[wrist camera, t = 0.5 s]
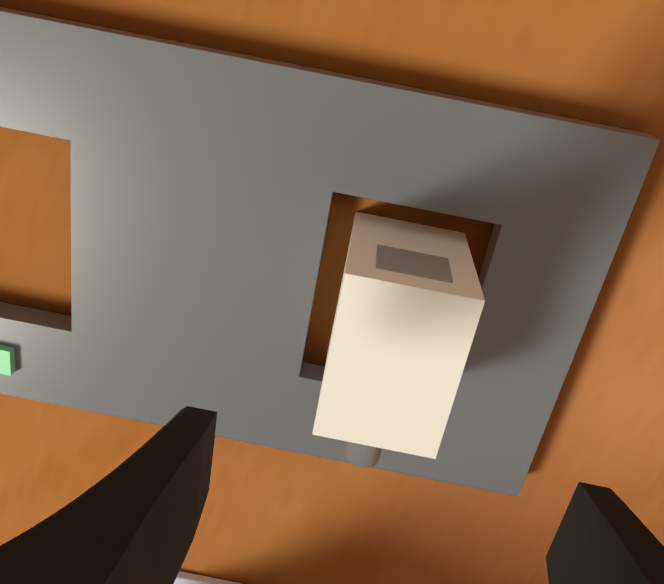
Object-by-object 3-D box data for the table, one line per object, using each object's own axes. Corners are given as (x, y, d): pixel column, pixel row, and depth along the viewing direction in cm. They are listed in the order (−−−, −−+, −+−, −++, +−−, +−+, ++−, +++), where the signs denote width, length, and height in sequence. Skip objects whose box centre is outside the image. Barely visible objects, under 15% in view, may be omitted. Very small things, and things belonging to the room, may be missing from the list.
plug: (411, 419, 23) (415, 522, 19) (317, 401, 23) (299, 498, 19) (465, 231, 20) (485, 298, 15) (356, 209, 20) (345, 271, 15)
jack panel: (513, 477, 24) (519, 502, 23) (-112, 353, 24) (-138, 371, 23) (647, 132, 18) (664, 142, 17) (-170, -27, 18) (-209, -28, 17)
